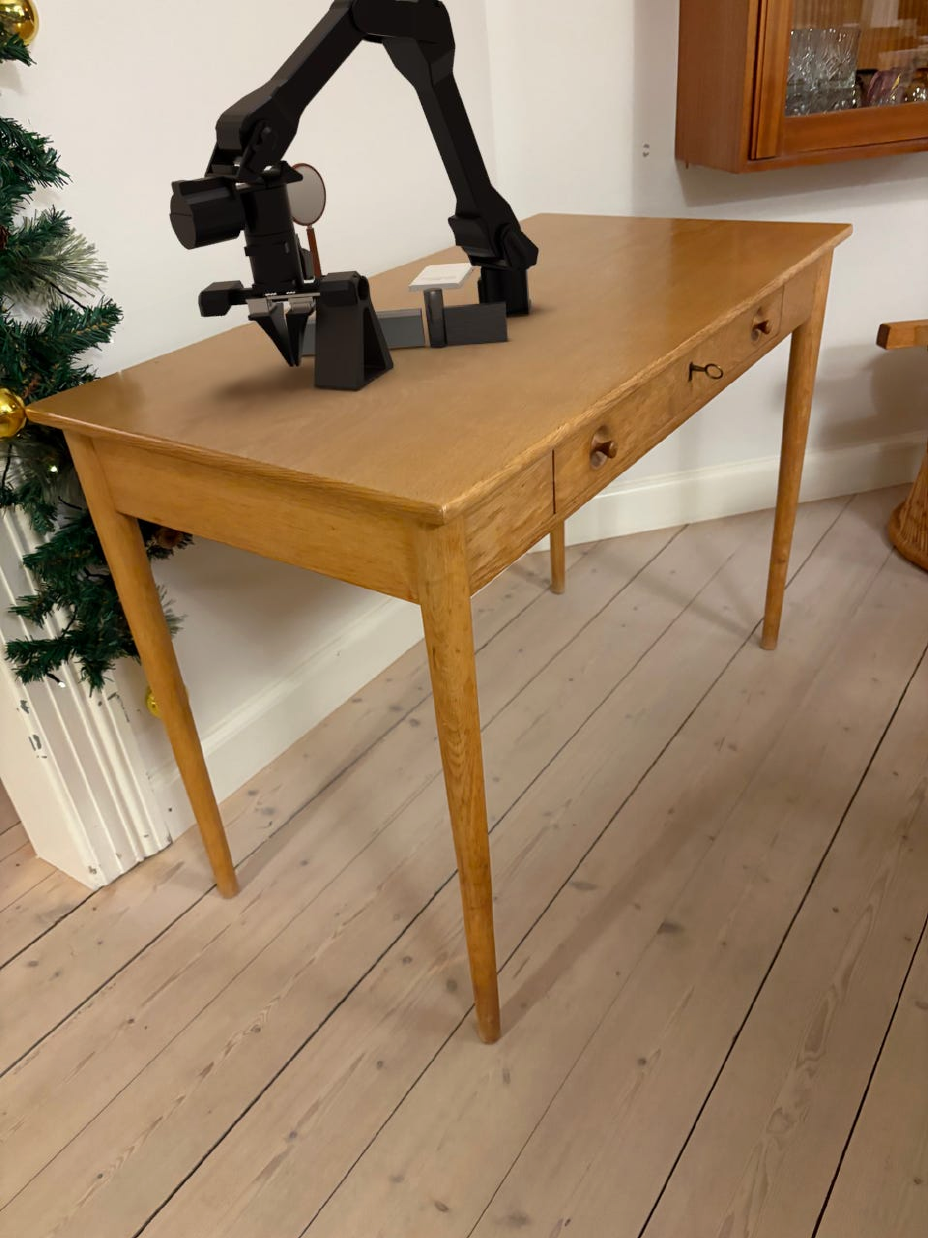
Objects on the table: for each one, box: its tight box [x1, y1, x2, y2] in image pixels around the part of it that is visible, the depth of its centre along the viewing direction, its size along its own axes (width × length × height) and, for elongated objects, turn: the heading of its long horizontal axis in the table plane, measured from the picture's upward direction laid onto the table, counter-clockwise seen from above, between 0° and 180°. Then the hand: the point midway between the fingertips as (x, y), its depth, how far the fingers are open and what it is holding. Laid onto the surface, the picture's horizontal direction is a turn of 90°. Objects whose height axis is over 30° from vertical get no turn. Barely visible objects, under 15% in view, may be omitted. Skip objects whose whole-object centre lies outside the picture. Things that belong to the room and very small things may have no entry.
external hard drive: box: [407, 262, 475, 292], centre depth 159 cm, size 2×8×12 cm
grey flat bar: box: [285, 307, 426, 355], centre depth 128 cm, size 18×1×4 cm, turn 84°
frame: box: [422, 288, 509, 349], centre depth 127 cm, size 29×2×7 cm, turn 79°
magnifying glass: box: [286, 162, 327, 278], centre depth 149 cm, size 9×2×20 cm, turn 142°
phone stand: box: [313, 274, 395, 391], centre depth 117 cm, size 9×6×12 cm, turn 154°
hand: (295, 365), depth 120 cm, fingers closed, pressing on phone stand
